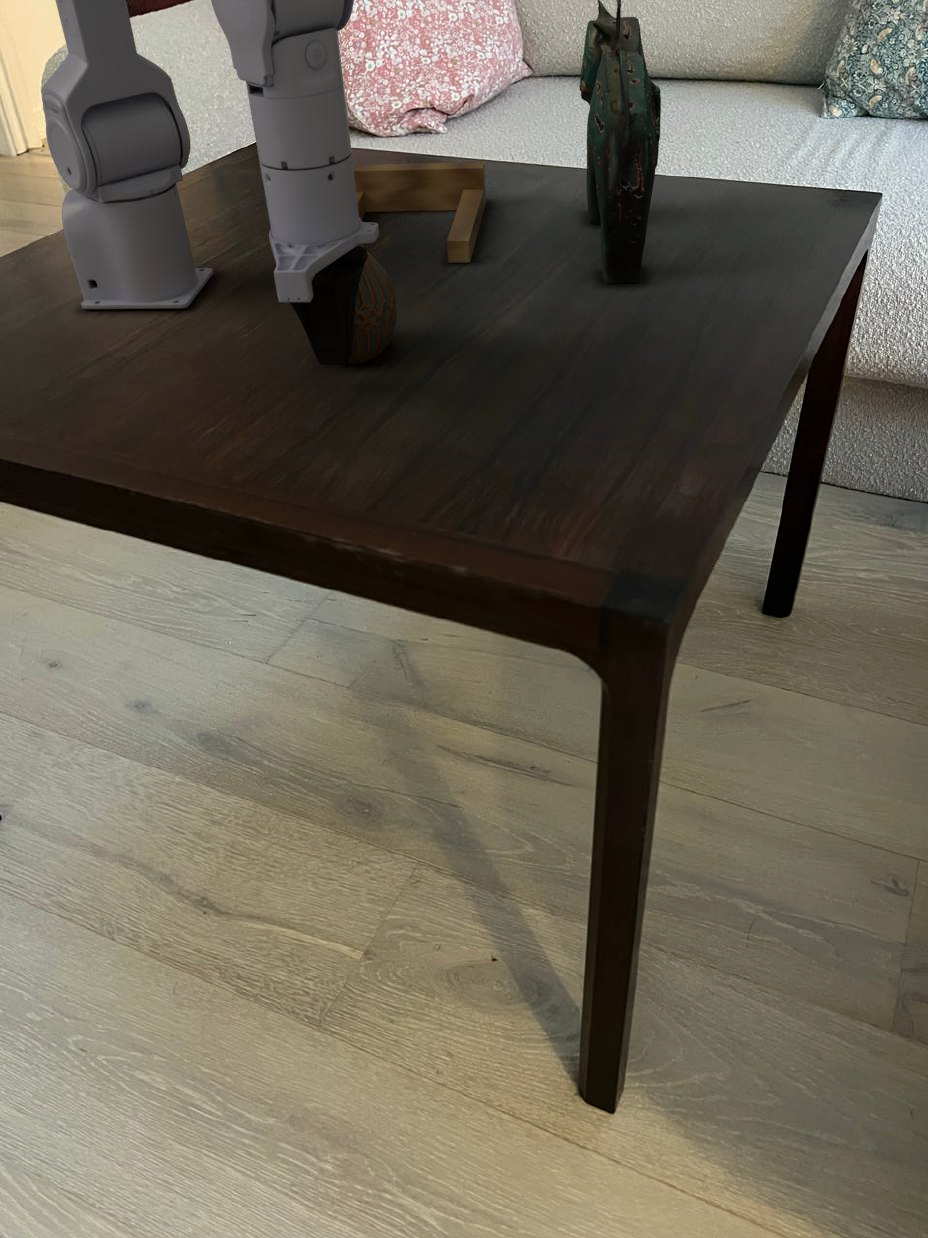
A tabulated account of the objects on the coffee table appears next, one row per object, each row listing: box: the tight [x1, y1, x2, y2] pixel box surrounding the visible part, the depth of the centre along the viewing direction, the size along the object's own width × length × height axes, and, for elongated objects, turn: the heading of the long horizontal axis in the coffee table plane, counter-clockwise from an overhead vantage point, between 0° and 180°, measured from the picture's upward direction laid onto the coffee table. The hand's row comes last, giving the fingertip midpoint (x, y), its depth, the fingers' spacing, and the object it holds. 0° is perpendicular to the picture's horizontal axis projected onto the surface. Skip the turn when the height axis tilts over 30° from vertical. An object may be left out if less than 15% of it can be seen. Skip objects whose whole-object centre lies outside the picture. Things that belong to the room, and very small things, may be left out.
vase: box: [347, 244, 398, 365], centre depth 75 cm, size 7×7×9 cm
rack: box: [353, 161, 487, 264], centre depth 96 cm, size 14×16×4 cm
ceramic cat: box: [579, 0, 662, 284], centre depth 86 cm, size 20×6×20 cm, turn 178°
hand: (335, 360), depth 71 cm, fingers closed
